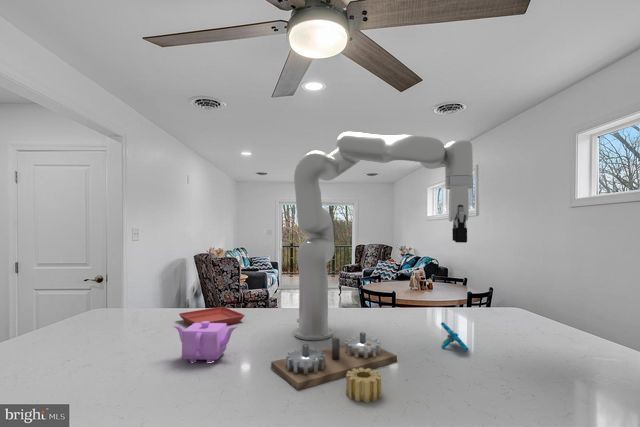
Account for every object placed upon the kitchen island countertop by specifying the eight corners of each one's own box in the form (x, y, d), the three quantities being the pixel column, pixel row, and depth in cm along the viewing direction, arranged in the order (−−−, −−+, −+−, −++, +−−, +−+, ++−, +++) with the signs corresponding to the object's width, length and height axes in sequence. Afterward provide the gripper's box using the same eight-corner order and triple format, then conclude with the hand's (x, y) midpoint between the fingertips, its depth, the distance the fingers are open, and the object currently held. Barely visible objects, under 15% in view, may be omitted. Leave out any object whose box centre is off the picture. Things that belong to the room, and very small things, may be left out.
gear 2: (338, 349, 97) (338, 331, 97) (364, 343, 102) (364, 326, 102) (360, 360, 89) (360, 341, 89) (388, 353, 94) (388, 335, 94)
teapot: (244, 349, 102) (245, 315, 102) (231, 367, 89) (231, 328, 89) (183, 348, 102) (184, 314, 103) (161, 366, 89) (162, 327, 90)
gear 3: (472, 351, 96) (444, 322, 99) (456, 365, 96) (429, 336, 99) (468, 344, 106) (443, 318, 109) (453, 357, 107) (429, 330, 110)
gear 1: (279, 363, 87) (279, 343, 88) (312, 355, 93) (312, 336, 93) (298, 377, 79) (298, 355, 79) (333, 368, 84) (333, 347, 85)
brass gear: (339, 391, 76) (339, 372, 76) (365, 382, 80) (365, 365, 80) (361, 406, 70) (361, 385, 70) (388, 396, 74) (388, 377, 74)
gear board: (298, 389, 77) (298, 359, 77) (271, 367, 89) (271, 341, 89) (397, 361, 93) (397, 336, 93) (363, 345, 105) (363, 323, 105)
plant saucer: (222, 314, 143) (222, 305, 143) (245, 323, 130) (245, 314, 130) (177, 322, 131) (177, 313, 131) (198, 333, 117) (198, 323, 117)
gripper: (444, 186, 113) (444, 240, 112) (446, 180, 96) (447, 242, 96) (469, 186, 110) (470, 240, 110) (476, 179, 94) (477, 243, 93)
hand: (459, 241), depth 103 cm, fingers open, 9 cm apart
